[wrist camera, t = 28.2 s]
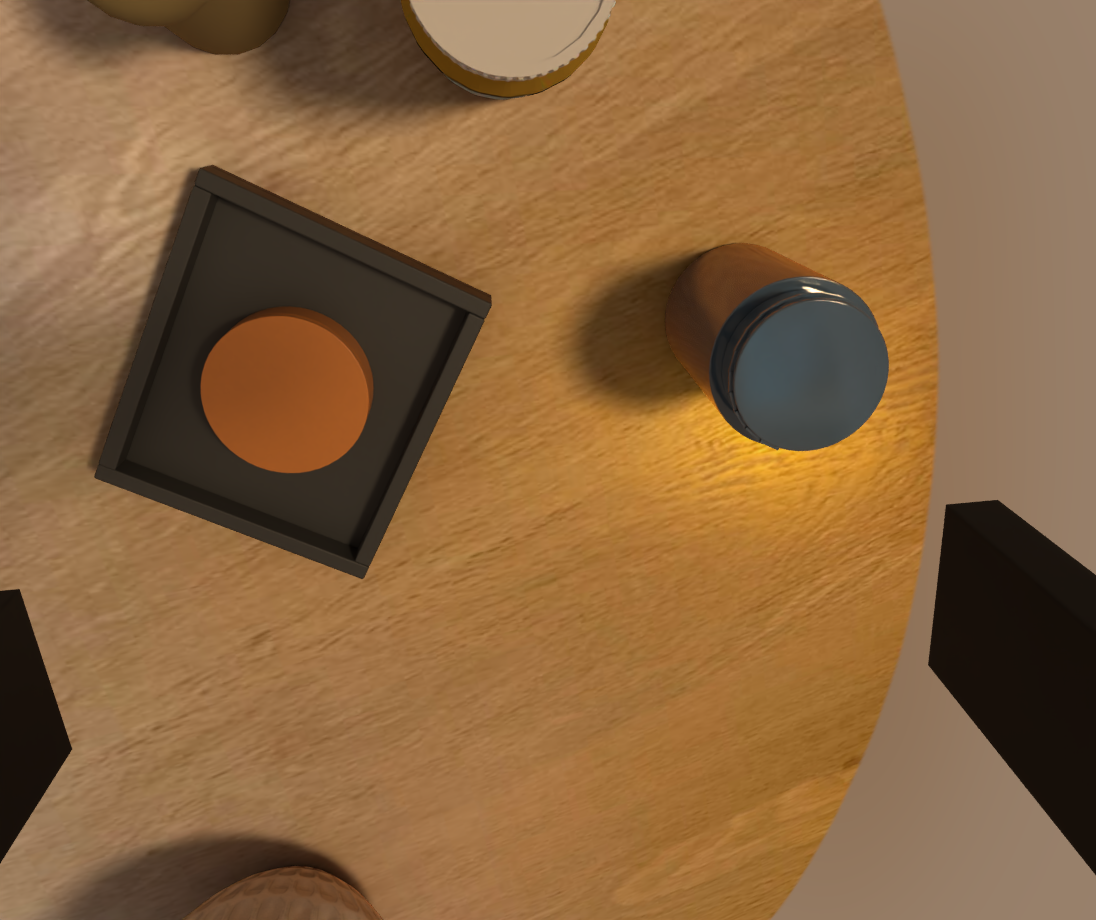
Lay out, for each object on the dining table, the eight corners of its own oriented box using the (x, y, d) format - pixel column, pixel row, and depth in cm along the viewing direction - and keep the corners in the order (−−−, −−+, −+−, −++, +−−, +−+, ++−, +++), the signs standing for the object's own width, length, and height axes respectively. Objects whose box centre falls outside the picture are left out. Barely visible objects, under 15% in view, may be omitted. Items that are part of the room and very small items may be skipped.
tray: (212, 164, 40) (199, 167, 38) (491, 295, 43) (492, 304, 41) (109, 462, 44) (93, 478, 42) (367, 561, 47) (363, 580, 45)
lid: (339, 481, 45) (332, 498, 43) (190, 422, 43) (177, 437, 41) (398, 347, 43) (394, 358, 41) (243, 278, 41) (232, 287, 39)
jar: (709, 217, 42) (782, 252, 32) (832, 281, 44) (938, 334, 34) (639, 349, 44) (687, 420, 34) (759, 405, 46) (838, 490, 36)
